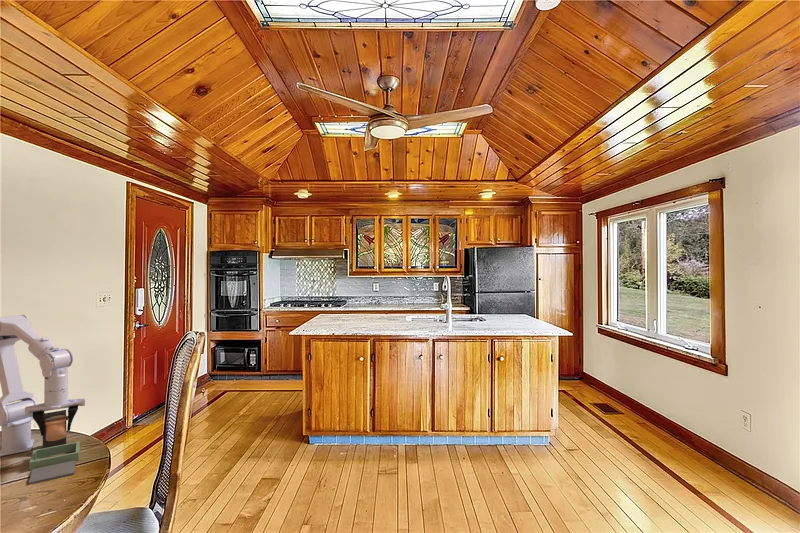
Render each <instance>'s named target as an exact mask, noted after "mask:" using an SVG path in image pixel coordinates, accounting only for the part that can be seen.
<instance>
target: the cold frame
mask: <svg viewBox="0 0 800 533" xmlns="http://www.w3.org/2000/svg"><path fill="white" fill-rule="evenodd" d="M80 444H81V442H80V441H76V442H70V443H66V444H64V445H59V446H53V447H48V448H43V447H42V448H39V449H33V450H32V453H31V456H30V460H29V464H28V465H29V466H28V468H29V469H28V470H29V472H30V471H31V472H32V470H33V469H36V468H41V467H45V466H50V465H55V464H60V463H64V462H69V461H74V460H75V462H78V461H77V460H79V459H80V450H81V448H80V447H81V446H80Z"/></svg>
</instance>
